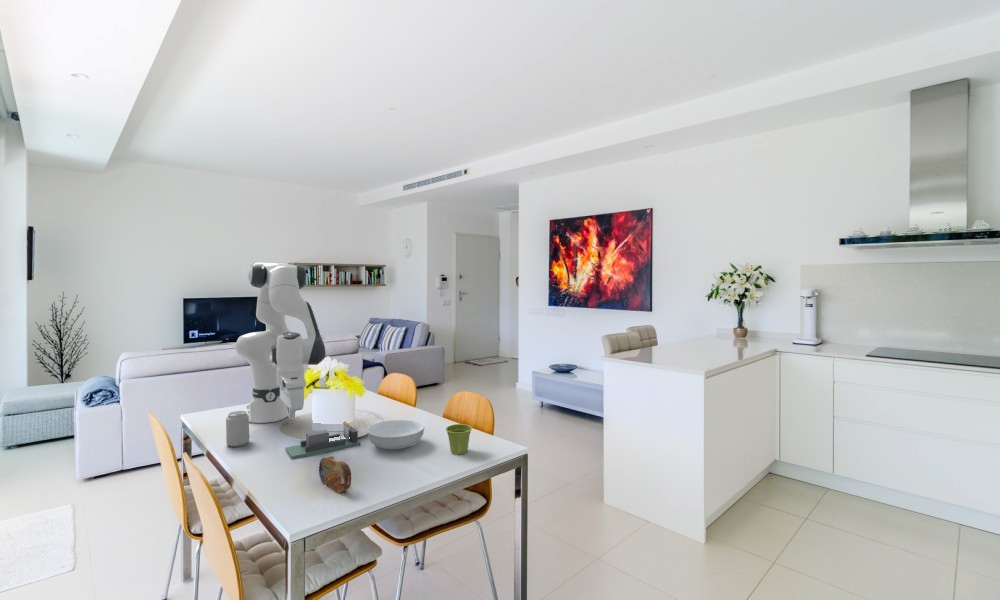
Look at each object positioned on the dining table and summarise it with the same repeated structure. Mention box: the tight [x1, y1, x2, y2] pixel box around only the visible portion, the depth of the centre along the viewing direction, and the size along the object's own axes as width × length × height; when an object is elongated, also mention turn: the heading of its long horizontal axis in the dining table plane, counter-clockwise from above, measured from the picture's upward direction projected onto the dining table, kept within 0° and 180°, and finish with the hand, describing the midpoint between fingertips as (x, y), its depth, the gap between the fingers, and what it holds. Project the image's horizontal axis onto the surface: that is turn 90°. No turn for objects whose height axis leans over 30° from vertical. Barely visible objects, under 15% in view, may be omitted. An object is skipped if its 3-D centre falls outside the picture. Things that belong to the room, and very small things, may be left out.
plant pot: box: [445, 423, 473, 455], centre depth 167 cm, size 9×9×9 cm
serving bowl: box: [366, 419, 425, 451], centre depth 173 cm, size 21×21×7 cm
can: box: [225, 410, 250, 448], centre depth 173 cm, size 8×8×12 cm
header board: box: [284, 421, 361, 460], centre depth 170 cm, size 10×24×8 cm, turn 126°
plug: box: [305, 429, 330, 446], centre depth 169 cm, size 4×7×5 cm, turn 126°
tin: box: [318, 455, 352, 494], centre depth 138 cm, size 15×3×8 cm, turn 48°
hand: (291, 417), depth 163 cm, fingers closed
